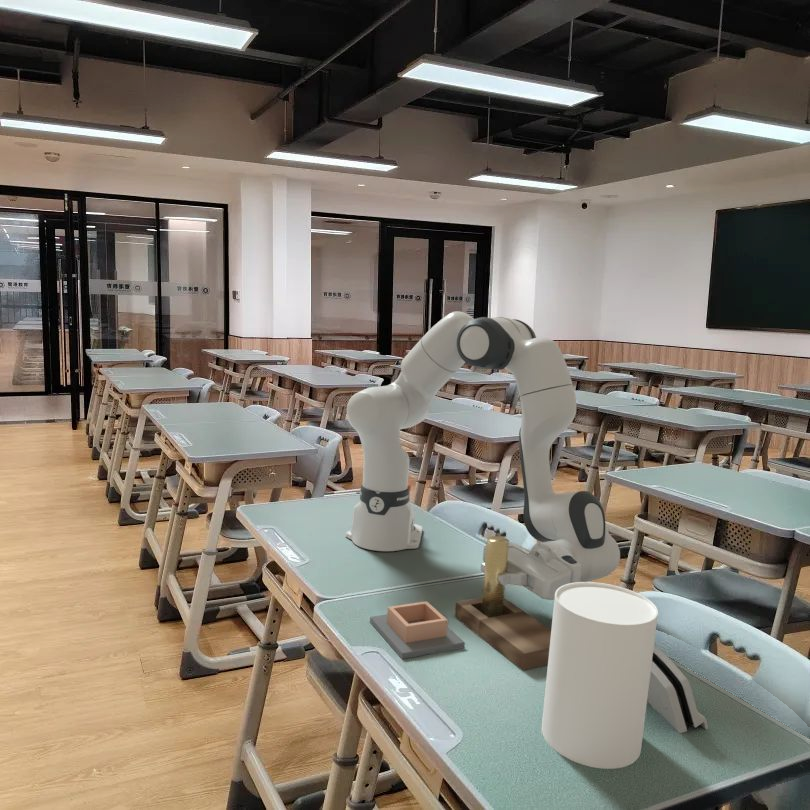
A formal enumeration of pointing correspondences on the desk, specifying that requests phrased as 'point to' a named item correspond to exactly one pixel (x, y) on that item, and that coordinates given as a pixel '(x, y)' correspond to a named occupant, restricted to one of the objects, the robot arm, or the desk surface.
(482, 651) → the desk surface
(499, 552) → the axle
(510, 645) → the wooden block with recess
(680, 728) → the white slotted casing
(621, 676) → the canister
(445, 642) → the stand
